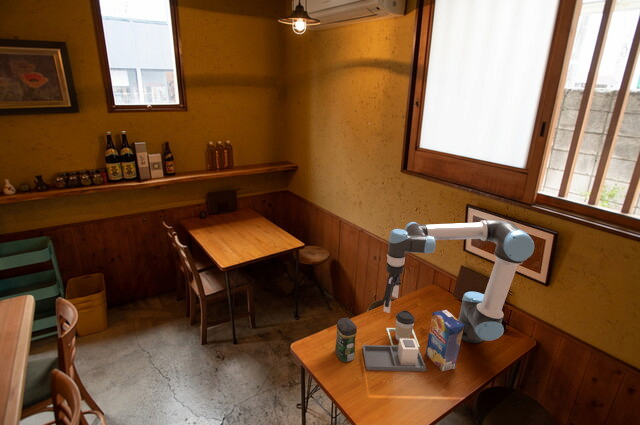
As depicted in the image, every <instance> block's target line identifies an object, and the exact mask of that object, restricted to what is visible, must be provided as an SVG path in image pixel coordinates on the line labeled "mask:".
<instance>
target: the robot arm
mask: <svg viewBox="0 0 640 425" xmlns="http://www.w3.org/2000/svg"><path fill="white" fill-rule="evenodd" d="M479 239H480V240H481V241H482V242H487V241H488V242H491V243H493V244H495V245H496V246H495V249H494V253H493V256H494V257H495V262H494V265H493V267H492V270H491V273H490V277H489V280H488V283H487V285H486V289H485V291H484V293H481V292H477V291H466V292H465V293H463V295H462V296H463V297H462V300H461V306H460V312H459V316H458V317H457V318H456V319H457V320H459V321H460V322H461V323H462V324H463V325H464V329H463V333H462V338H461V341H464V342H467V343H471V344H472V343H473V344H478V343H479V344H480V343H482V342H483V341H495V340H497V339H499V338H500V337H501V336H502V335H503V334H504V331H505V329H504V325H503V324H502V322H503V319H504V315H505V314H504V312H503V306H504V304H505V301H506V298H507V296H508V293H509V290H510V287H511V285H512V281H513V280H514V276H515V274H516V271H517V268H518V266H519V265H522V264H523V263H524V261H527V260H528V258H530V257H531V256H532V255H533V253H534V250H535V243H534V240H533V238H532V237H531V236H530V235H529V233H528V232H526V231H524V230H523V229H521V228H520V227H518V226H517V225H516V224H515V223H514V222H511V221H508V220H503V219H481V220H479V222H462V223H461V222H460V223H459V222H458V223H456V222H455V223H454V222H453V223H437V224H436V223H433V224H419V223H417V222H415V221H411V222H409V223H407V224H406V225H405V226H404V229H401V228H395V229H392V230H391V231H390V233H389V238H388V248H387V249H388V250H387V254H386V257H387V260H386V268H385V271H386V272H387V273H388V274H389V275H388V277H387V280H386V285H385V291H384V294H383V297H382V299H383V301H384V302H383V312H384V313H388V314H390V312H391V305H392V298H396V299H398V297H399V291H400V290H399V289H400V286H402V282H401V280H402V279H401V274H403V273H404V268H405V260H406V253H413V254H414V253H416V254H433V253H434V252H435V250H436V241H448V240H449V241H450V240H451V241H452V240H453V241H454V240H479Z"/></svg>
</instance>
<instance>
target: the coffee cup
mask: <svg viewBox="0 0 640 425" xmlns="http://www.w3.org/2000/svg"><path fill="white" fill-rule="evenodd" d="M415 321H416V319H415V316H414V315H413V314H412V313H411V312H410V311H408V310H404V309H403V310H402V311H399V312H398V313H396V315H395V327H394V328H395V331H394V332H395V339H396V340H397V341H398V342H399V339H400V338H404V339H411V336H412V335H413V333H412V330H413V331H414V324H415Z"/></svg>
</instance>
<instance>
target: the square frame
mask: <svg viewBox="0 0 640 425" xmlns="http://www.w3.org/2000/svg"><path fill="white" fill-rule="evenodd" d="M395 328H396V327H386V332H387V335H388V339H389V342H390V346H399V344H394V343H393V340H392V337H391V333H390V332H395ZM412 336H413V339H415V341H416V344H417V346H418V348H419V349H420V347H421V346H420V344H419V341H418V339H417V336H416V333H415V331H414V329H413V330H412Z"/></svg>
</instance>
